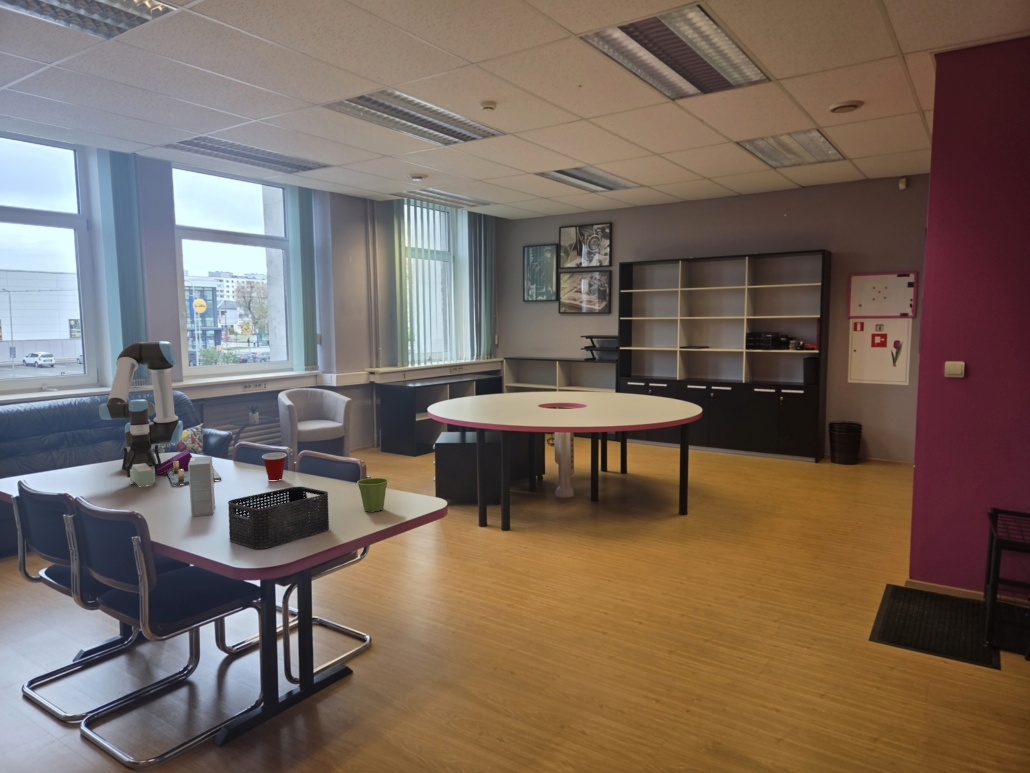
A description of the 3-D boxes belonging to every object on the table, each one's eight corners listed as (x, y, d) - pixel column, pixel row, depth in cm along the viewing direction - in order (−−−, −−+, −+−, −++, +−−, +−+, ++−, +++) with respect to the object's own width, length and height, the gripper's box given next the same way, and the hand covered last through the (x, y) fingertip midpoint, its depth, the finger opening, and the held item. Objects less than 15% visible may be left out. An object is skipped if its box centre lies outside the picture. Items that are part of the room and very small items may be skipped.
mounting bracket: (163, 487, 322) (198, 466, 332) (153, 472, 319) (189, 452, 329) (159, 483, 330) (193, 463, 339) (149, 469, 327) (185, 450, 336)
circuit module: (132, 481, 309) (131, 464, 308) (147, 479, 313) (146, 463, 312) (138, 487, 296) (137, 470, 296) (153, 485, 300) (152, 468, 299)
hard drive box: (193, 507, 262) (191, 457, 260) (215, 505, 264) (212, 455, 263) (190, 517, 247) (187, 464, 246) (213, 515, 250) (210, 462, 248)
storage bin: (299, 520, 242) (297, 484, 241) (333, 529, 230) (332, 491, 229) (225, 541, 219) (223, 501, 218) (259, 552, 207) (257, 510, 206)
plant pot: (389, 505, 261) (388, 476, 260) (389, 513, 250) (389, 483, 249) (358, 507, 259) (357, 478, 258) (357, 515, 247) (356, 485, 246)
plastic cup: (261, 483, 301) (260, 457, 300) (264, 478, 311) (263, 453, 310) (286, 482, 303) (285, 456, 302) (288, 477, 314) (287, 452, 313)
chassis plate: (167, 474, 323) (166, 461, 322) (212, 469, 333) (211, 456, 333) (173, 486, 298) (172, 472, 297) (221, 480, 308) (220, 466, 308)
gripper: (113, 436, 294) (116, 487, 296) (167, 432, 305) (169, 481, 307) (112, 434, 300) (115, 484, 302) (165, 430, 311) (168, 478, 313)
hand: (143, 482), depth 304 cm, fingers open, 8 cm apart
